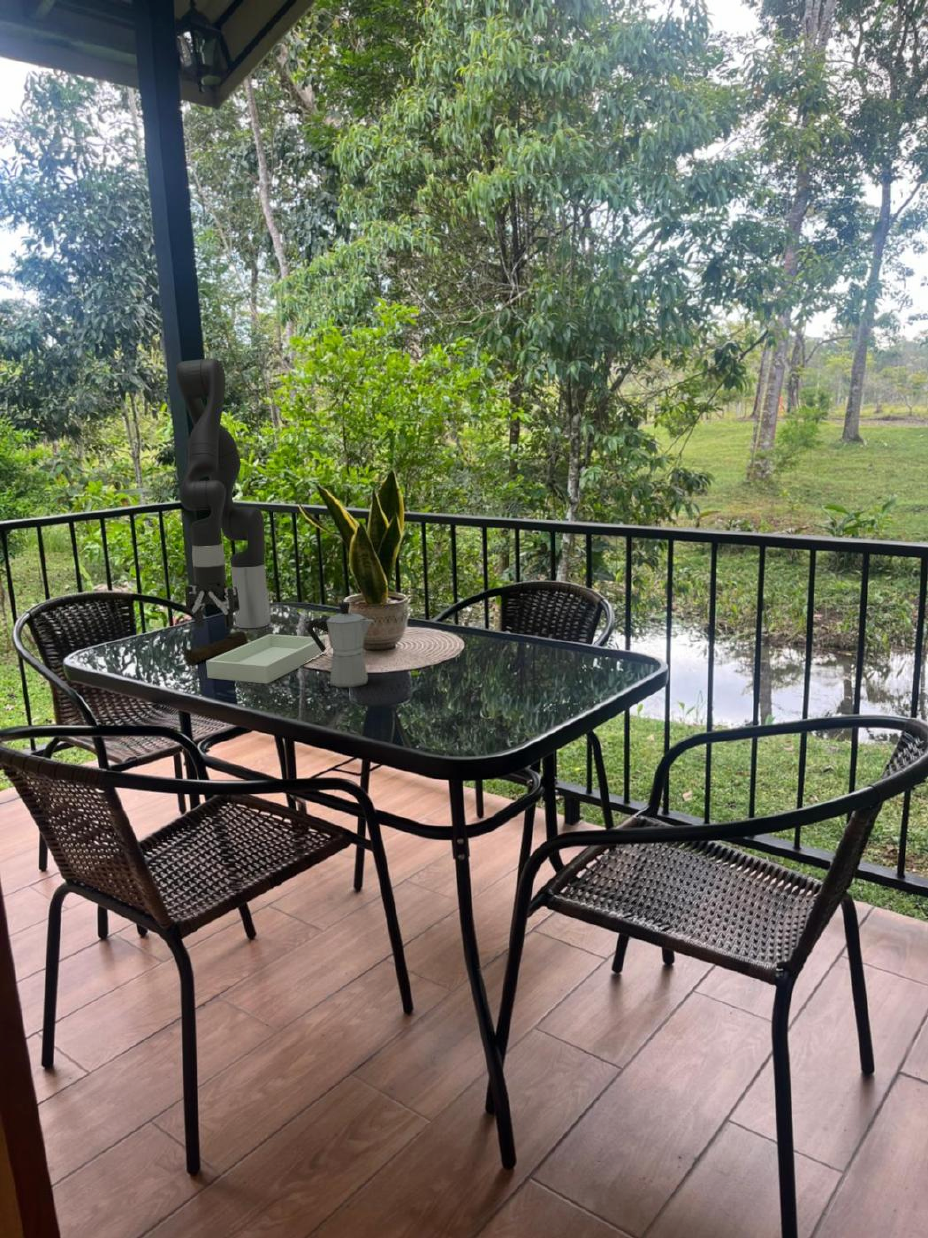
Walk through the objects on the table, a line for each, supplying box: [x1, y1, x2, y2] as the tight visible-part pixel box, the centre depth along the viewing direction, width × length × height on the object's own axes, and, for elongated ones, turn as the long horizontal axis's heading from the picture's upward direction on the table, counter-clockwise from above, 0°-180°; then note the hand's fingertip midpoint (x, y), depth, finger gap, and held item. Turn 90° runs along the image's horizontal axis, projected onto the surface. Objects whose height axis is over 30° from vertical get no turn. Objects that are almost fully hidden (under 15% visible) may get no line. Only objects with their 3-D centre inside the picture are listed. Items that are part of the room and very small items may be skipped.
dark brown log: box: [184, 631, 248, 665], centre depth 231 cm, size 19×4×5 cm, turn 145°
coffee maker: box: [306, 601, 375, 688], centre depth 204 cm, size 15×9×18 cm, turn 89°
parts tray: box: [205, 633, 327, 684], centre depth 221 cm, size 26×16×4 cm, turn 159°
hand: (214, 627), depth 230 cm, fingers open, 8 cm apart
